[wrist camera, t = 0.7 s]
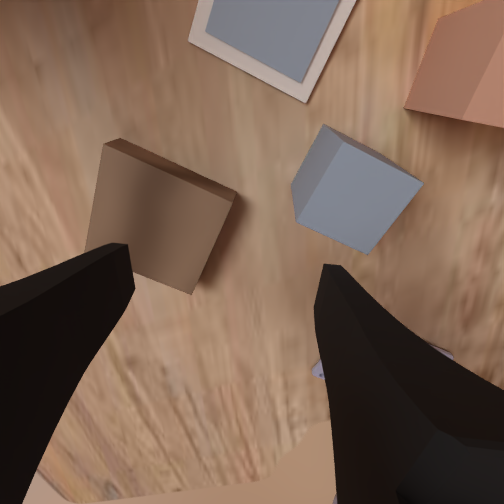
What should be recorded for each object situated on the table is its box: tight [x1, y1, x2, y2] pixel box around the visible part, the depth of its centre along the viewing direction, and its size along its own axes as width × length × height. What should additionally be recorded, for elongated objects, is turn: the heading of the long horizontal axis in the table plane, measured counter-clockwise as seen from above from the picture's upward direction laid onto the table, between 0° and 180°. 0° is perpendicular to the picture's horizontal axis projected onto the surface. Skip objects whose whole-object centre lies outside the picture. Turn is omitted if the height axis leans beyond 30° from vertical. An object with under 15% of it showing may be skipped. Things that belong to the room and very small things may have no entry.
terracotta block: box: [404, 0, 504, 128], centre depth 13 cm, size 4×4×6 cm
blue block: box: [291, 124, 424, 255], centre depth 16 cm, size 4×4×6 cm
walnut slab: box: [84, 138, 237, 295], centre depth 20 cm, size 8×8×2 cm
